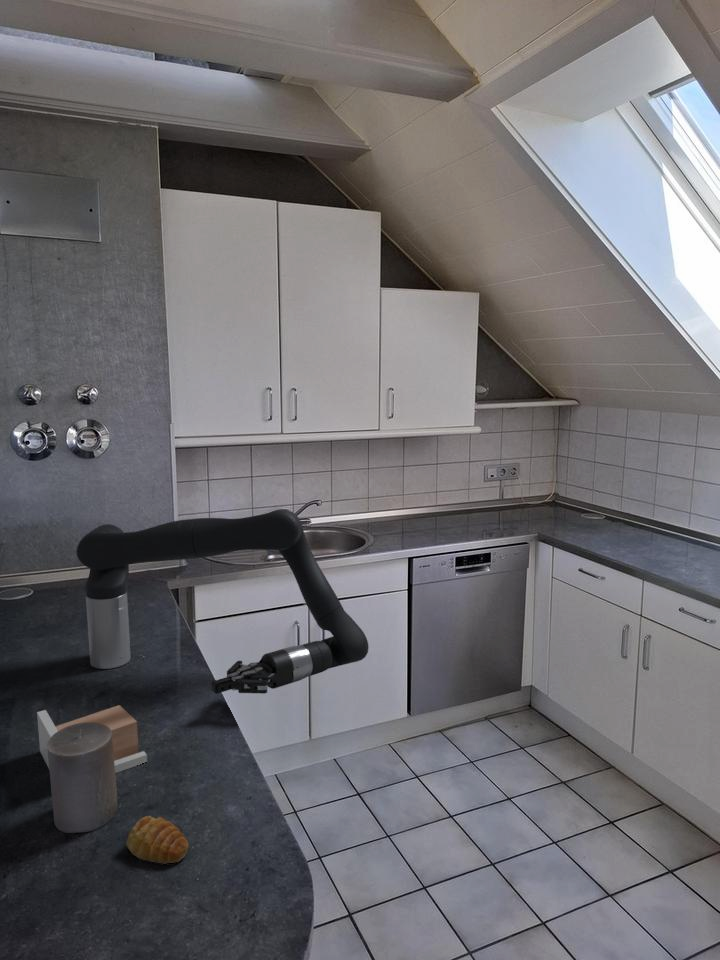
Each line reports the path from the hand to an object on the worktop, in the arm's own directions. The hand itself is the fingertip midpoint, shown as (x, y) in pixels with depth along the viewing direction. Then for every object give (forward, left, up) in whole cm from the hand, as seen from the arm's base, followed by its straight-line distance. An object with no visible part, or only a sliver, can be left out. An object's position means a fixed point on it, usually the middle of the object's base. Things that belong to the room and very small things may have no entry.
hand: (213, 688), depth 142 cm
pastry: (+30, -23, -7) cm, 39 cm away
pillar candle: (+16, -30, -7) cm, 35 cm away
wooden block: (+1, -23, -7) cm, 24 cm away
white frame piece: (0, -23, -7) cm, 24 cm away
